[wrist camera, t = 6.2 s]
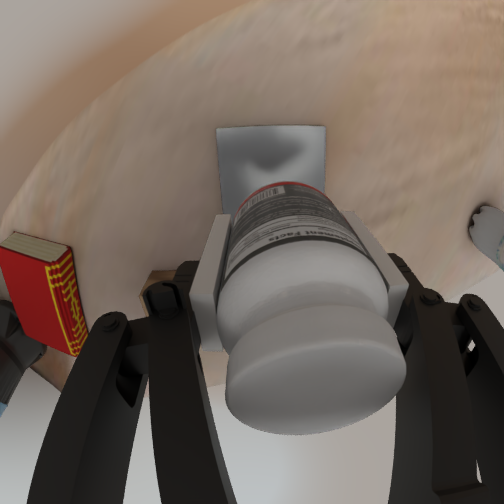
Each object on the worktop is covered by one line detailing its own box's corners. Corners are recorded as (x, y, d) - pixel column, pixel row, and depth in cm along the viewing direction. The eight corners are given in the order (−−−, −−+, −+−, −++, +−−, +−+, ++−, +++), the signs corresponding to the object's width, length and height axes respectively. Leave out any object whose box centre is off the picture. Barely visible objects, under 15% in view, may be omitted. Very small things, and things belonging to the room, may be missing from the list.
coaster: (225, 224, 29) (224, 228, 28) (217, 128, 24) (215, 128, 23) (321, 221, 28) (322, 224, 28) (323, 125, 23) (325, 126, 23)
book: (92, 337, 39) (80, 359, 35) (38, 317, 38) (25, 335, 34) (74, 245, 31) (54, 266, 26) (15, 230, 30) (-5, 246, 25)
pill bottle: (322, 279, 16) (364, 436, 8) (227, 268, 16) (202, 436, 7) (350, 188, 13) (464, 326, 5) (239, 169, 13) (203, 311, 4)
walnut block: (161, 302, 34) (151, 329, 30) (152, 270, 32) (138, 296, 28) (198, 302, 34) (191, 330, 30) (191, 269, 32) (182, 296, 27)
